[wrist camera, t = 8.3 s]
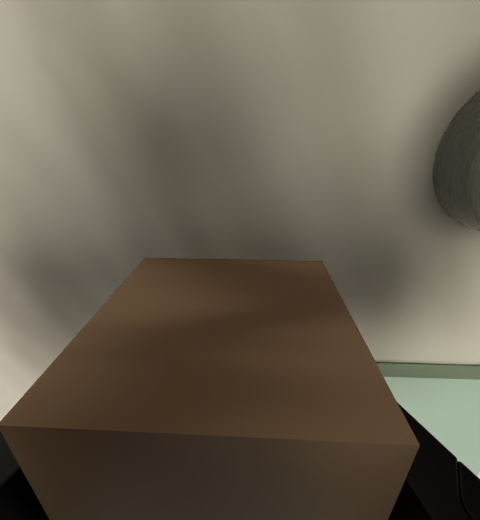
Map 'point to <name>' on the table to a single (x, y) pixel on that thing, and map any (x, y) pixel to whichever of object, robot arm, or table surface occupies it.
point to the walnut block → (215, 403)
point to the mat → (441, 404)
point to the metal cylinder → (460, 165)
